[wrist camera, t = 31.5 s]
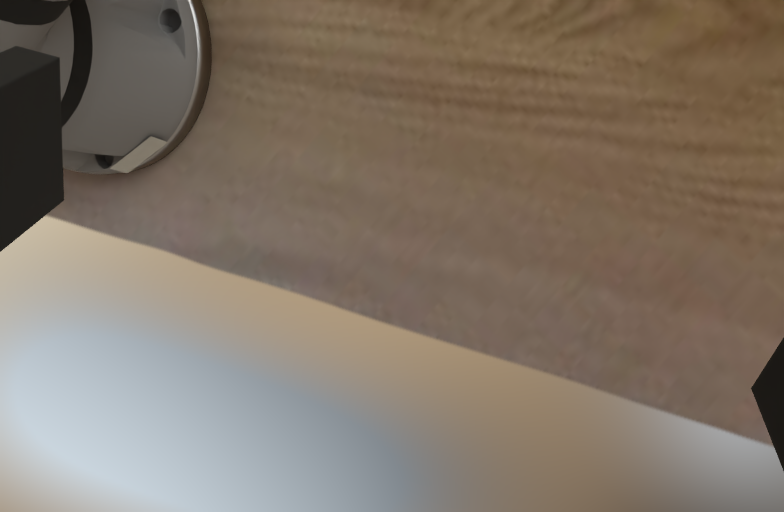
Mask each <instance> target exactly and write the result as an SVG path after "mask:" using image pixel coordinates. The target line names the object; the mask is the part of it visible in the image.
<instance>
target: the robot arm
mask: <svg viewBox="0 0 784 512" xmlns="http://www.w3.org/2000/svg"><path fill="white" fill-rule="evenodd" d="M210 73H211V38H210V31H209V25H208V21H207V17H206V13H205V9H204V7H203V4H202V1H201V0H0V251H2V250H3V249H4V248H5V247H7V246H8V245H9V244H10V243H12V242H13V241H14V240H15V239H17V238H18V237H19V236H20V235H21V234H23V233H24V232H25V231H26V230H28V229H29V228H30V227H31V226H33V225H34V224H35V223H36V222H38V221H39V220H40V219H41V218H43V217H44V216H45V215H46V214H47V213H49V212H50V211H51V210H52V209H54V208H55V207H56V206H57V205H59V204H60V203H61V202H62V201H64V190H63V168H65V169H68V170H72V171H77V172H82V173H88V174H114V173H123V172H124V173H129V172H130V171H134V170H138V169H141V168H144V167H146V166H149V165H151V164H153V163H155V162H157V161H158V160H160V159H162V158H163V157H165V156H166V155H167V154H169V153H170V152H171V151H172V150H173V149H174V148H175V147H177V146H178V144H179V143H180V142H181V141H182V140H183V139H184V138H185V136H186V135H187V134H188V132H189V131H190V129H191V128H192V126H193V124H194V123H195V121H196V119H197V117H198V115H199V113H200V111H201V108H202V106H203V103H204V100H205V97H206V93H207V89H208V85H209V79H210ZM751 389H752V392H753V394H754V397H755V399H756V402H757V404H758V407H759V409H760V412H761V415H762V417H763V420H764V422H765V425H766V427H767V430H768V432H769V435H770V437H771V440H772V443H773V445H774V448H775V450H776V453H777V455H778V458H779V460H780V463H781V465H782V468H783V471H784V338H783V340H782V341H781V343H780V344H779V346H778V347H777V349H776V350H775V352H774V354H773V355H772V357H771V358H770V360H769V361H768V363H767V364H766V366H765V368H764V369H763V371H762V372H761V374H760V375H759V377H758V379H757V380H756V382H755V383H754V385H753V386H752V388H751Z"/></svg>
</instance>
